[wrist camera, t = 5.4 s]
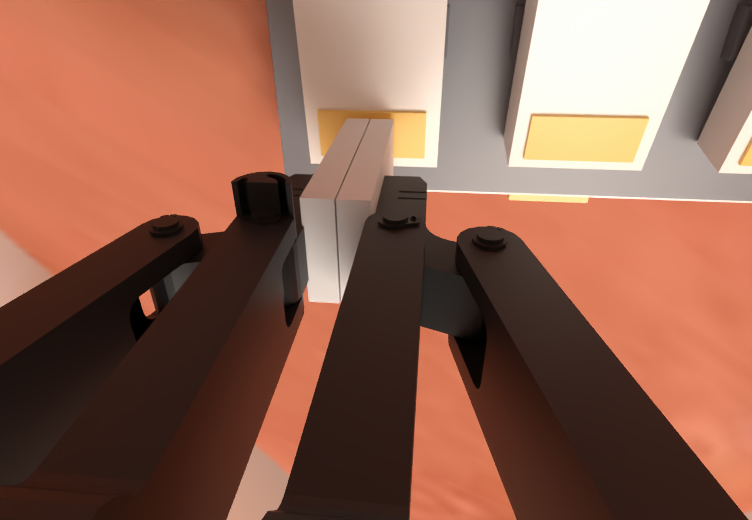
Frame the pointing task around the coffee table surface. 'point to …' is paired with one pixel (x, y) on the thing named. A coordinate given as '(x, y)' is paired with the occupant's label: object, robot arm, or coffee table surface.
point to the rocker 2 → (595, 80)
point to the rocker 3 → (732, 119)
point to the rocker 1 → (373, 71)
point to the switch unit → (491, 101)
